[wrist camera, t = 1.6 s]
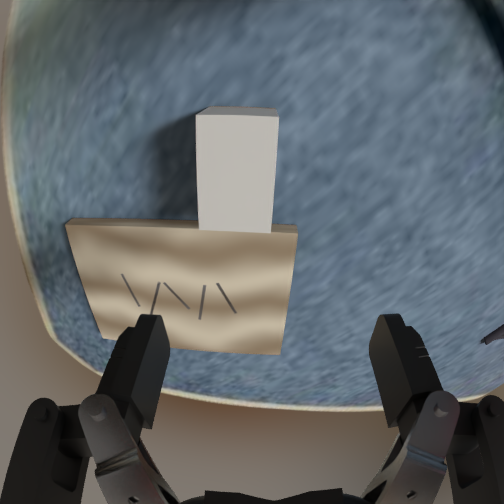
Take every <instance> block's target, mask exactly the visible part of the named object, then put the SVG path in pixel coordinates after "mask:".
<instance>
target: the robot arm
mask: <svg viewBox="0 0 504 504" xmlns="http://www.w3.org/2000/svg"><path fill="white" fill-rule="evenodd" d="M369 356H370V360H371V363H372V367H373V370H374V374H375V378H376V381H377V385H378V389H379V392H380V396H381V400H382V404H383V408H384V412H385V416H386V420H387V424H388V428H391V427H396V426H398V427H399V434H398V435H397V437H396V439H395V441H394V443H393V445H392V447H391V449H390V451H389V453H388V455H387V457H386V458H385V460H384V462H383V464H382V466H381V467H380V469H379V471H378V473H377V474H376V476H375V477H374V478H373V479H372V481H371V482H370V483H369V485H368V486H367V488H366V489H365V490H364V492H363V493H362V495H361V496H360V497H356V496H353V495H349V494H343V492H342V488H337V489H330V490H320V491H309V492H306V493H303V494H300V495H296V496H292V497H288V498H284V499H281V500H276V501H272V500H266V499H262V498H257V497H254V496H249V495H245V494H241V493H232V492H217V491H205V496H199V497H195V498H191V499H189V500H186V501H183V502H180V501H179V499H178V498H177V496H176V495H175V493H174V492H173V490H172V489H171V487H170V486H169V485H168V483H167V482H166V481H165V479H164V478H163V477H162V475H161V474H160V472H159V470H158V468H157V467H156V465H155V463H154V462H153V460H152V458H151V456H150V454H149V453H148V451H147V449H146V447H145V445H144V444H143V442H142V440H141V438H140V434H141V430H142V428H146V429H152V426H153V421H154V417H155V413H156V409H157V404H158V400H159V396H160V392H161V388H162V384H163V380H164V376H165V372H166V368H167V365H168V361H169V357H170V342H169V339H168V335H167V332H166V328H165V325H164V322H163V318H162V316H161V315H154V314H141V315H140V316H139V318H138V320H137V323H136V325H135V327H127V328H126V329H125V330H124V331H123V332H122V333H121V334H120V336H119V337H118V340H117V342H116V344H115V347H114V349H113V351H112V354H111V358H110V359H109V361H108V364H107V366H106V369H105V371H104V374H103V376H102V379H101V381H100V384H99V387H98V389H97V391H96V393H95V394H93V395H90V396H88V397H87V398H85V399H84V400H83V401H82V403H81V404H79V405H69V406H57V405H56V404H55V402H54V401H52V400H51V399H48V398H39V399H37V400H35V401H34V402H33V403H32V404H31V405H30V406H29V408H28V410H27V413H26V415H25V418H24V420H23V423H22V426H21V429H20V432H19V435H18V438H17V441H16V444H15V447H14V450H13V453H12V456H11V460H10V463H9V467H8V470H7V474H6V478H5V482H4V486H3V490H2V494H1V498H0V504H81V498H82V493H83V488H84V482H85V477H86V472H87V468H88V463H89V458H90V457H94V460H95V463H96V466H97V469H96V470H95V476H96V479H97V481H98V483H99V486H100V488H101V490H102V492H103V495H104V497H105V499H106V501H107V503H108V504H432V503H433V501H434V499H435V497H436V495H437V493H438V490H439V488H440V486H441V483H442V481H443V479H444V476H445V473H446V470H447V466H448V471H449V477H450V482H451V488H452V494H453V501H454V504H504V402H503V401H502V400H501V399H500V398H499V397H497V396H494V395H488V396H486V397H484V398H483V399H482V400H481V401H480V402H479V403H478V404H477V403H464V402H458V400H457V399H456V398H455V396H453V395H452V394H451V393H449V392H446V391H444V390H443V388H442V386H441V383H440V380H439V378H438V376H437V373H436V371H435V368H434V366H433V363H432V361H431V359H430V357H429V354H428V352H427V349H426V348H425V345H424V343H423V340H422V338H421V336H420V335H419V334H418V333H417V332H416V330H415V329H414V328H413V327H412V326H405V323H404V321H403V319H402V317H401V315H400V314H383V315H380V316H379V317H378V319H377V322H376V325H375V328H374V331H373V334H372V337H371V340H370V343H369ZM479 448H480V449H479ZM480 452H481V453H480ZM445 456H446V461H447V465H446V464H444V459H445ZM481 456H482V457H481ZM482 460H483V461H482Z"/></svg>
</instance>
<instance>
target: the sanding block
mask: <svg viewBox="0 0 504 504" xmlns="http://www.w3.org/2000/svg"><path fill="white" fill-rule="evenodd" d="M278 125H279V116H278V113H277V111H276V109H275V108H261V107H230V106H210V107H208V108H207V109H205V110H203V111H202V112H200V113H198V114H197V115H196V162H197V195H198V218H199V230H211V231H233V232H254V233H271V224H272V211H273V198H274V184H275V170H276V155H277V140H278Z"/></svg>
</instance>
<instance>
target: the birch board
mask: <svg viewBox="0 0 504 504" xmlns="http://www.w3.org/2000/svg"><path fill="white" fill-rule="evenodd" d="M65 227H66V231H67V234H68V238H69V242H70V245H71V249H72V252H73V256H74V259H75V262H76V266H77V269H78V272H79V275H80V278H81V281H82V284H83V287H84V290H85V293H86V296H87V298H88V301H89V304H90V307H91V309H92V312H93V315H94V317H95V320H96V322H97V325H98V327H99V330H100V332H101V335H102V337H103V338H105V339H111V340H118V337H119V336H120V334H121V333H122V332H123V331H124V330H125V329H126V328H127V327H135V325H136V323H137V320H138V318H139V316H140V315H141V314H154V315H161V316H162V318H163V322H164V325H165V328H166V332H167V335H168V339H169V342H170V348H180V349H190V350H201V351H213V352H227V353H245V354H268V355H280V351H281V345H282V339H283V333H284V327H285V321H286V314H287V308H288V301H289V295H290V288H291V281H292V274H293V267H294V260H295V252H296V245H297V237H298V231H297V226H296V225H285V224H271V233H254V232H233V231H211V230H199V221H197V220H165V219H121V218H72V219H71V220H70V221H69V222H68V223H67V224H66V225H65Z"/></svg>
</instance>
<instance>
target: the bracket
mask: <svg viewBox="0 0 504 504" xmlns="http://www.w3.org/2000/svg"><path fill="white" fill-rule="evenodd" d="M484 338H485V340H486V341H485V344H486V345H487V344H489V343H491V342H492V341H494V340H497V339H503V338H504V324H503V325H502V326H500V327H499V328H498V329H496V330H495V331H493V332H492V333H490V334H489V335H487V336H486V337H484Z"/></svg>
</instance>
